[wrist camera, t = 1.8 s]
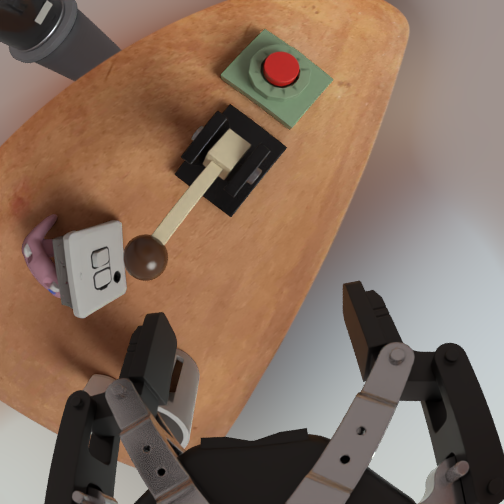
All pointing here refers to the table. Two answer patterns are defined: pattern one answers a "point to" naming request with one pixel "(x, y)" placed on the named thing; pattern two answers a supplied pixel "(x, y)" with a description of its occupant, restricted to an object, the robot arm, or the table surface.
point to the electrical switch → (90, 267)
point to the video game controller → (42, 255)
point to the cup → (182, 400)
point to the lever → (182, 209)
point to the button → (280, 68)
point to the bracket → (245, 172)
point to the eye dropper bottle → (98, 384)
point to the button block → (271, 96)
